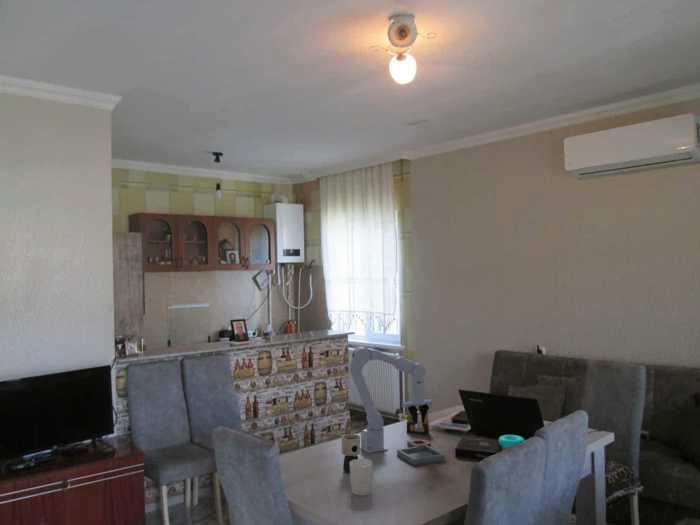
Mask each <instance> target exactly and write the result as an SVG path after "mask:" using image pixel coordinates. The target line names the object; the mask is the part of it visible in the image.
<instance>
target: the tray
mask: <svg viewBox="0 0 700 525" xmlns="http://www.w3.org/2000/svg"><path fill="white" fill-rule="evenodd" d="M396 457H398V458H400V459H401V460H403V461H405V462H407V463H408V464H410V465H411V466H414V467H419V466H423V465H428V464H429V465H431V464H435V463H440V462H441V461H442V462H445V461H446V455H445V454H444V453H442V452H441V451H439V450H437V449H435V448H433V447H432V446H431V447H429V446H427V445H423V446H417V447H411V448H410V447H406V448H399V449H397V450H396Z"/></svg>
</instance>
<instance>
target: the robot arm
mask: <svg viewBox="0 0 700 525" xmlns="http://www.w3.org/2000/svg"><path fill="white" fill-rule="evenodd" d="M376 360H378V361H382V362H383V363H386V364H390V365H393V368H394V369H395V370H397V371H400V372H403V373H405V374H408V375H410V376H411V377H410V386H411V387H410V389H411V390H410V391H411V393H410V395H411V397H410V398H411V399H410V400H409V401H405V402H401V403H402V405H401V406H402V408H403V409H407V411H408V410H409V412H410V416H412V420H413V423H414V424H417V412H418V409H419V411H422V423H424V420H425V416H426V413H427V412H428V411H429V409H430V406H429V405H433V406H434V404H435V402H434V399H431V398H430V399H425V398H426V397H425V396H426V395H425V393H426V392H425V375H426V371H427V370H426V369H425V366H424V365H422V364H421V363H419V362H418V361H416V360H411V359H408V358H406V356H404V355H402V356H397V357H394V356H392V355H389V354H387V353H385V352H383V351H381V350H378V349H375V348H371V347H365V346H363V345H359V346H357V347H355V349H354V350H353V352H352V353H351V359H350V364H349V369H348V370H349V372H350V376H351V378H352V381H353V382H354V384H355V385H354V386H355V387H356V390H357V393H358V395H359V398H360V401H361V403H362V405H363V408H364V410H365V413H366V421H367V422H368V424H367V425H366V428H365V429H362V430H361V432H360V450H363V451H364V452H366V453H367V454H370V453H371V454H372V453H377V452H382V451H383V452H384V451H388V448H387V447H385V440H384V438H385V437H384V436H385V435H384V430H385V429H384V423H385V422H384V418H383V416H382V415H381V413H380V411H378V410H377V408H376V405H375V403H374V400H373V398H372V395H371V393H370V390H369V387H368V385H367V383H366V381H365V377H364V375H363V373H362V371H363V369H364V367H365V365H366V364H367V363H369V361H371V362H372V361H376ZM417 407H418V408H417Z"/></svg>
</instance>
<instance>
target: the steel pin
mask: <svg viewBox="0 0 700 525" xmlns="http://www.w3.org/2000/svg"><path fill="white" fill-rule="evenodd" d="M415 431H422V411H418V412H417V424H415Z"/></svg>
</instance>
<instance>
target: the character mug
mask: <svg viewBox="0 0 700 525" xmlns="http://www.w3.org/2000/svg"><path fill="white" fill-rule="evenodd" d="M360 447H361V435H359V434H344V435H342V436H341V453H342V455H344V457H343V465H342V466H343V467H342V470H343V471H344V472H347V473H350V461H352V460H355V459H359V455H360V453H361V448H360Z"/></svg>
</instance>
